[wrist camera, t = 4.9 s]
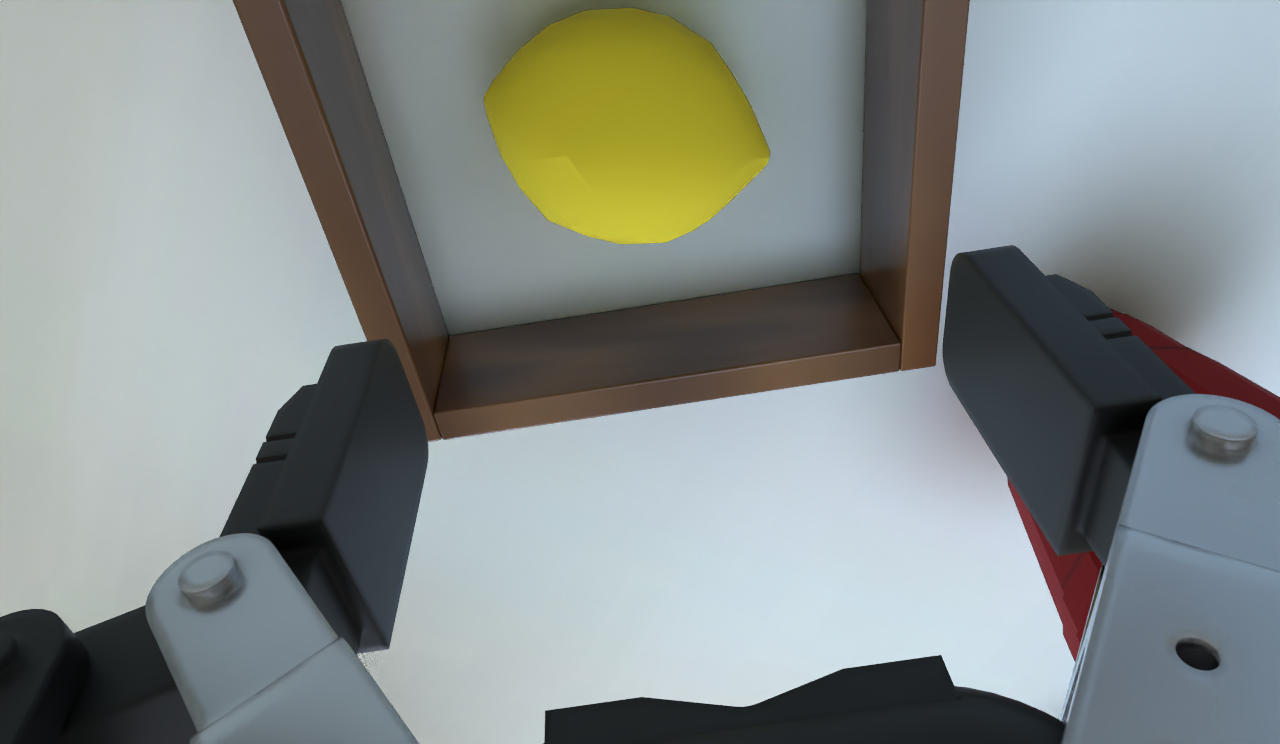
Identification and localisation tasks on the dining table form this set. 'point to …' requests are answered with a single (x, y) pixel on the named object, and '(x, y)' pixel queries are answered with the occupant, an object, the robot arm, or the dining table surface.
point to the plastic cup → (1080, 571)
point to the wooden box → (651, 335)
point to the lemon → (624, 126)
